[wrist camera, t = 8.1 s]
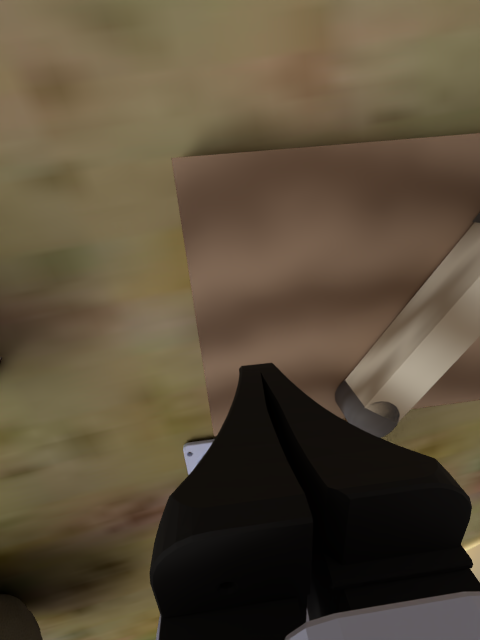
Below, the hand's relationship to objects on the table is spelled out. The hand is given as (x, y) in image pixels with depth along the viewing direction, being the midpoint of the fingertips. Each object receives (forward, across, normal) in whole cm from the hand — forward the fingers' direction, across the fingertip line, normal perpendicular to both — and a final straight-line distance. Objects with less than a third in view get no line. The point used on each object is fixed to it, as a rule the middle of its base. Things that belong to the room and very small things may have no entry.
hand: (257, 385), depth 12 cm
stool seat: (+10, -8, 0) cm, 13 cm away
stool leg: (+8, -12, +2) cm, 15 cm away
